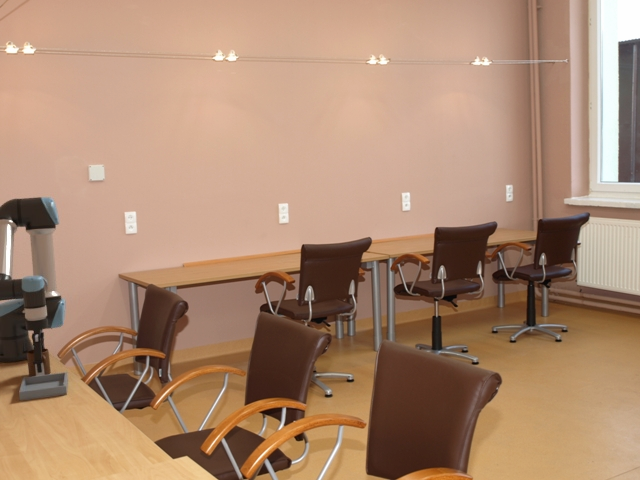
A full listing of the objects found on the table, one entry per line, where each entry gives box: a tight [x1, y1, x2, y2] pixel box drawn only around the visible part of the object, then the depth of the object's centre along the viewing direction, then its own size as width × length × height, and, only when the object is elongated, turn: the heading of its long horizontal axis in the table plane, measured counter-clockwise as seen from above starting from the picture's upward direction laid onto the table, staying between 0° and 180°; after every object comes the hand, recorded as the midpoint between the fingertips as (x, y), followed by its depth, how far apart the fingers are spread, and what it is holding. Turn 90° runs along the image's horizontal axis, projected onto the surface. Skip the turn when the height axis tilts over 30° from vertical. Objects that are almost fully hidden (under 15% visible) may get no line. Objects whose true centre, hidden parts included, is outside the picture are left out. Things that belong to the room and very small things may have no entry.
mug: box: [26, 348, 52, 377], centre depth 264 cm, size 12×8×9 cm, turn 37°
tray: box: [18, 371, 69, 402], centre depth 249 cm, size 17×15×3 cm
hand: (41, 375), depth 265 cm, fingers closed on mug, 11 cm apart
